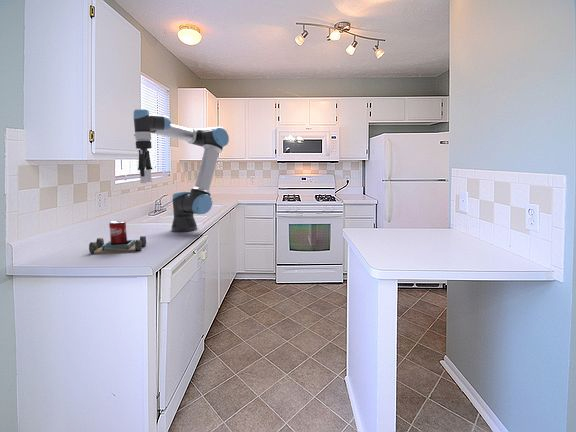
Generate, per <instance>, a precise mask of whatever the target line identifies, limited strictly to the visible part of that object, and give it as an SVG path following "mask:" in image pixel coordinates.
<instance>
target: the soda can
mask: <svg viewBox="0 0 576 432" xmlns="http://www.w3.org/2000/svg"><path fill="white" fill-rule="evenodd" d="M108 225H109V226H108V227H109V238H110V240H109V241H111V245H125V244H127V240H128V235H127V223H126V221H124V220H115V221H110V222H109V223H108Z"/></svg>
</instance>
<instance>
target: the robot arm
mask: <svg viewBox="0 0 576 432" xmlns="http://www.w3.org/2000/svg"><path fill="white" fill-rule="evenodd" d="M133 126H134V134H133V136H134V137H135V148H136V149H137V150H138V166H137V170H138V171H139V179H140V184H147V183H152V170H153V166H152V164H151V162H152V161H151V157H150V151H149V150H150V149H152V147H153V146H152V141H151V140H152V134H156V135H160V136H163V137H167V138H172V139H175V140H181V141H184V142H187V143H188V144H191V145H194V146H199V147H201V148H203V149H204V151H203V154H202V158H201V162H200V166H199V169H198V174H197V177H196V181H195V184H194V186H193V187H192V188H190V191H189V190H188V191H181V192H174V193H173V194H172V207H173V208H172V210H173V211H172V212H173V218H172V219H173V221H172V224H171V228H170V229H171V231H172V232H176V233H177V232H179V233H180V232H192V231H196V230H198V225H197V222H196V220H195V217H194V215H205V214H207V213H209V212H210V210H211V209H212V207H213V199H212V197H211V192H210V187H211V184H212V180H213V177H214V176H213V175H214V173H215V169H216V166H217V162H218V158H219V154H221V153H222V152H223V148H224V147H226V146H227V145H229V141H230V138H229V137H230V136H229V134H228V131H227V130H226V129H225V128H224V127H222V126H214V127H213V126H212V127H204V128H203V127H202V128H195V127H190V128H187V127H184V126H179V125H177V124H173V123H172V121H171V119H170V117H169V116H168V115H163V114H162V115H160V114H151V113H150V111H149V109H147V108H146V109H145V108H144V109H143V108H139V109H138V108H137V109H136V108H135V109H134V111H133ZM148 149H149V150H148Z"/></svg>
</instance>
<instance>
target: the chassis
mask: <svg viewBox="0 0 576 432" xmlns="http://www.w3.org/2000/svg"><path fill="white" fill-rule="evenodd" d="M146 246H147V237H146V236H145V235H141V236H140V237H139V239H127V244H125V245H111V240H109V241H107V242H105V241H104V238H103V237H101V238H99V237H97V239H96V241H94V242H91V241H90V242H89V244H88V250H89V253H90V254H93V255H104V254H107V253H108V254H121V253H122V254H123V253H124V254H126V253H136V252H138V251H142V250H143V247H146ZM108 254H107V255H108Z"/></svg>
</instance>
